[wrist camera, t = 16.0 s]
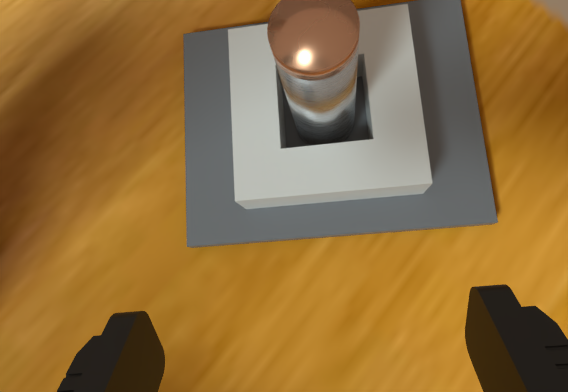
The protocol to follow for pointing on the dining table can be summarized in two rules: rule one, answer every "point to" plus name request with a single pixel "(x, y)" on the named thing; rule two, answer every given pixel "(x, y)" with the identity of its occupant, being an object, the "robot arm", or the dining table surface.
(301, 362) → the dining table surface
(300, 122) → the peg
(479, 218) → the dock
